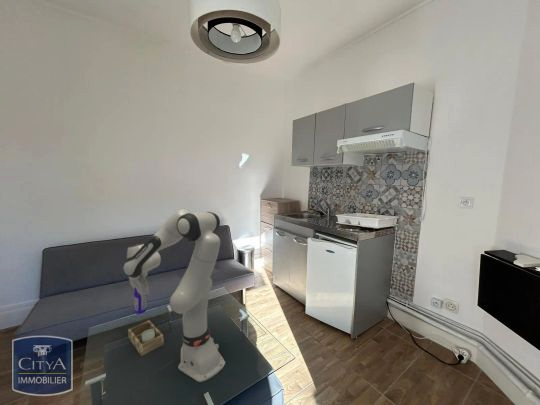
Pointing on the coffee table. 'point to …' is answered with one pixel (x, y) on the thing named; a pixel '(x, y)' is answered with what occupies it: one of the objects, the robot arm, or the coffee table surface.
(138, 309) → the bottle
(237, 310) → the coffee table surface
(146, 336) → the pale green egg
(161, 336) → the rack
